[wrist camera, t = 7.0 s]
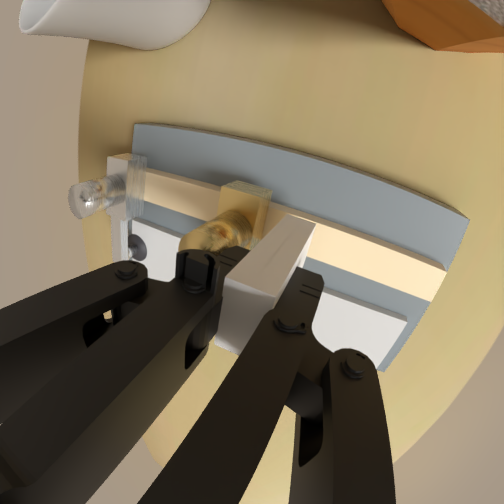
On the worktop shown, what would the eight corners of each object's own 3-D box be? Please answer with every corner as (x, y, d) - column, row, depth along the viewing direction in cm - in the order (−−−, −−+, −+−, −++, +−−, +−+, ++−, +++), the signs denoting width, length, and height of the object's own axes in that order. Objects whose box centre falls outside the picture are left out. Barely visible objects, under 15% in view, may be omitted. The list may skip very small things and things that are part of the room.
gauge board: (152, 123, 18) (124, 124, 16) (459, 211, 13) (476, 225, 11) (143, 258, 24) (121, 272, 21) (384, 354, 19) (383, 382, 16)
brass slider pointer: (239, 179, 15) (182, 201, 10) (274, 189, 14) (229, 216, 10) (219, 293, 18) (174, 341, 14) (247, 304, 18) (207, 358, 13)
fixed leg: (127, 152, 17) (67, 165, 12) (148, 156, 16) (86, 170, 12) (125, 249, 20) (76, 277, 16) (143, 258, 20) (94, 289, 16)
